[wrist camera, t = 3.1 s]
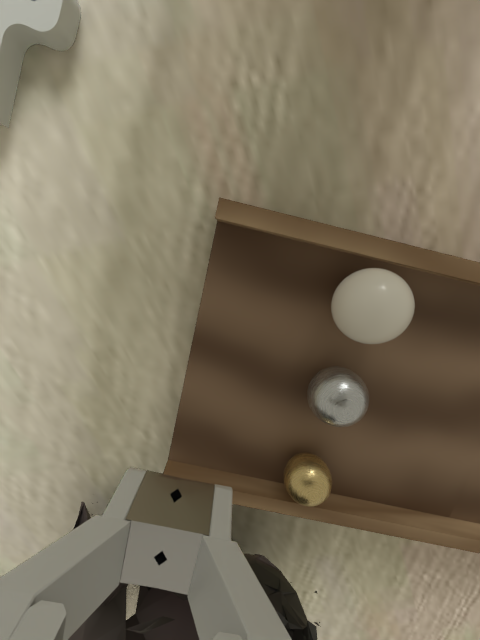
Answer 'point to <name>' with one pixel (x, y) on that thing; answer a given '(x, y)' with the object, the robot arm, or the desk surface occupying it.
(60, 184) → the desk surface
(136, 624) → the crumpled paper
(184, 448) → the board
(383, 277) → the cream ball
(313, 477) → the brass ball
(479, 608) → the desk surface
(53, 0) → the mounting plate
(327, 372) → the steel ball
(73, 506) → the desk surface
